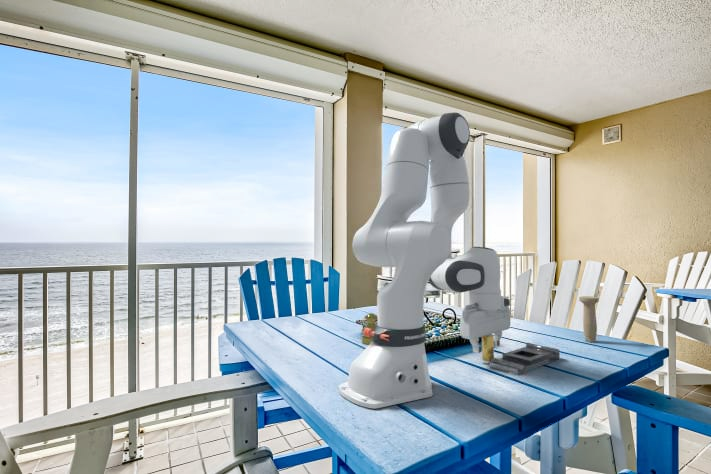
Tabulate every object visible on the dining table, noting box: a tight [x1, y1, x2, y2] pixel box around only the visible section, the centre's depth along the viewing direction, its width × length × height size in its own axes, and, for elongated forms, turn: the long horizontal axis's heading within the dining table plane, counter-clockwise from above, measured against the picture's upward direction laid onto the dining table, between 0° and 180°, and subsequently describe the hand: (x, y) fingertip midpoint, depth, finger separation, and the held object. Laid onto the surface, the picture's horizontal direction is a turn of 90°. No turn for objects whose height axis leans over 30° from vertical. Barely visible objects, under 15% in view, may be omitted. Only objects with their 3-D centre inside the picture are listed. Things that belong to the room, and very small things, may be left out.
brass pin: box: [481, 334, 495, 363], centre depth 105 cm, size 3×3×7 cm
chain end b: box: [502, 342, 561, 365], centre depth 103 cm, size 16×9×3 cm, turn 125°
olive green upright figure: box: [360, 312, 377, 345], centre depth 127 cm, size 7×7×10 cm
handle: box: [578, 295, 600, 343], centre depth 124 cm, size 5×6×15 cm
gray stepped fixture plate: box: [489, 355, 549, 376], centre depth 100 cm, size 16×9×2 cm, turn 125°
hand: (486, 349), depth 106 cm, fingers open, 8 cm apart
